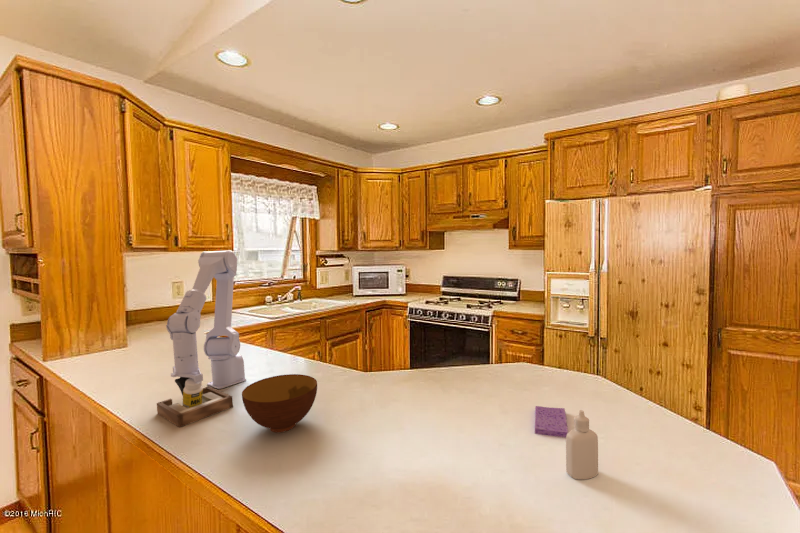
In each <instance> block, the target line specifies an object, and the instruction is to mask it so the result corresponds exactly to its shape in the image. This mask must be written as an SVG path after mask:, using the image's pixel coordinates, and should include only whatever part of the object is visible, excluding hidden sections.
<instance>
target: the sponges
mask: <svg viewBox="0 0 800 533" xmlns="http://www.w3.org/2000/svg"><path fill="white" fill-rule="evenodd" d="M534 407H535V408H534V409H535V411H534V412H535V413H534V414H535V417H534V418H535V419H534V434H535V435H542V436H543V435H544V436H552V437H560V438H566V436H567V434H568V432H569V429H568V426H567V416H566V409H565V408H563V407H547V406H539V405H535V406H534Z"/></svg>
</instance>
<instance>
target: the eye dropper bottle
mask: <svg viewBox="0 0 800 533" xmlns="http://www.w3.org/2000/svg"><path fill="white" fill-rule="evenodd" d="M573 418H574V419H573V420H574V421H573V423H574V427H573V429H571V430H570V431H568V434H567V436H566V437H565V460H566V461H565V467H566V470H565V471H566V473H567V474H568V476H570V477H571V478H572V479H574V480H580V481H582V480H589V479H592V478H595V477H596V476H597V475H598V474H599V436H598V433H596V432H595V431H594V430H592V429H590V419H589V417H587V416H585V411H584V410H582V409H580V410H579V412H578V415H575V416H574V417H573Z"/></svg>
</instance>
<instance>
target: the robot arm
mask: <svg viewBox="0 0 800 533" xmlns="http://www.w3.org/2000/svg"><path fill="white" fill-rule="evenodd" d="M197 261H198V262H197V263H198V266H199V270H198V272H197V274H196V278H195V280H194V283H193V285H192V288H191V289H189V290H187V291H186V292H185V294H184V296H183V297H182V300H181V302H180V303H179V306H178V307H177V310H176V312H174V313H173V314H172V315H169V317H168V319H167V324H166V325H165V327H166V330H167V332H168V333H169V337H170V338H169V339H170V340H171V341H172V346H173V348H172V349H173V358H174V360H173V361H174V366H172V373H170V377H172V378H176V377H178V378H176V379H174V383H176V385H177V387H178V388H179V390H180V393H181V395H182V397H183V389H184V387H185V381H186V380H187V379H189V378H192V380H194V382H195V383H197V382H200V381H202V382H203V381H204V375H203V373H201V370H200V367H199V358H198V345H197V344H198V342H197V331H198V330H199V328H200V326H201V317H202V315H201V312H202V310H203V308H204V306H205V302H206V300H207V296H206V294H205V293H206V291H207V289H208V288H209V286H210V284H211V282H212V281H213V279H215V280H216V287H215V288H216V289H215V304H214V320H213V328H211V329H210V330H209V331H208V332H207V333H206V336H205V337H206V338H205V341H204V344H203V352H204V355H205V356H206V357H208V360H210V366H211V377H212V378H211V380H212V381H211V382H207V384H206V385H207V386H209V387H211V388H214V389H216V390H222V389H225V388H227V387H230V386H233V385H235V384H240V383H243V382H245V381H247V378H246V375H245V361H244V360H245V359H244V358H243V355H241V354H240V353H239V352H240V349H241V342H240V333H239V332H238V331H237V330H235V329H234V328H233V327H232V318H233V317H232V316H233V298H234V283H235V282H234V281H235V277H236V276H237V270H238V258H237V256H236V254H235V252H234V251H233V250H231V249H228V250H213V251H212V250H211V251H206V250H204V251H202V252H201V253H200V255H199V258H198V260H197ZM222 336H223V337H222ZM224 336H225V337H224Z"/></svg>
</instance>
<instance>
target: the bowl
mask: <svg viewBox="0 0 800 533" xmlns="http://www.w3.org/2000/svg"><path fill="white" fill-rule="evenodd" d="M317 393H318V382H317V379H316V378H314V377H313V376H310V375H306V374H298V373H297V374H296V373H294V374H293V373H292V374H281V375H276V376H270V377H266V378H262V379H260V380H257V381H255V382H253V383H251V384H249V385H247V386H246V387H245V388H244V389H242V392H241V398H242V404H243V406H244V409H245V411H246V412H247V414H248V416H249V418H251V419H252V420H253V421H254V422H255V423H256V424H257V425H259V426H261V427H264V428H266V429H269V430H270V432H273V433H285V432H288V431H290V429H291V430H293V429H294V428H295V427H294V426H296V425H297V424H298V423H299V422H300V421H302V420H303V419H304V418H305V417H306V416H307V415H308V414H309V412H310V410H311V409H312V408H313V407H312V406H313V405H314V403H315V400H316V397H317ZM293 427H294V428H293ZM284 431H285V432H284Z"/></svg>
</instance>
